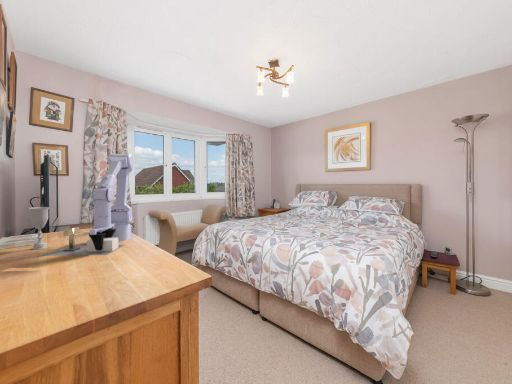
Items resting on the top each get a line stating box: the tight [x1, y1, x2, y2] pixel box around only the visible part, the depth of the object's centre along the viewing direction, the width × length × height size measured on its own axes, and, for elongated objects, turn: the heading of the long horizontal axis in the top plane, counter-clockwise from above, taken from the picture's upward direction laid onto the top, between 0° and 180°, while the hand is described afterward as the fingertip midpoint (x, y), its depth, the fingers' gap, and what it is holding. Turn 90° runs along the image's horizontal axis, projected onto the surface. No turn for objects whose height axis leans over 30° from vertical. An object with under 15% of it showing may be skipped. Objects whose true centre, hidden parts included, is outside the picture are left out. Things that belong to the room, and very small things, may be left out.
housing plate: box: [41, 244, 125, 257], centre depth 97 cm, size 15×24×2 cm, turn 95°
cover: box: [86, 238, 119, 252], centre depth 98 cm, size 5×10×4 cm, turn 95°
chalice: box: [28, 206, 50, 251], centre depth 102 cm, size 7×7×18 cm
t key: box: [62, 226, 90, 249], centre depth 99 cm, size 2×12×8 cm, turn 175°
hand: (103, 247), depth 98 cm, fingers open, 6 cm apart
